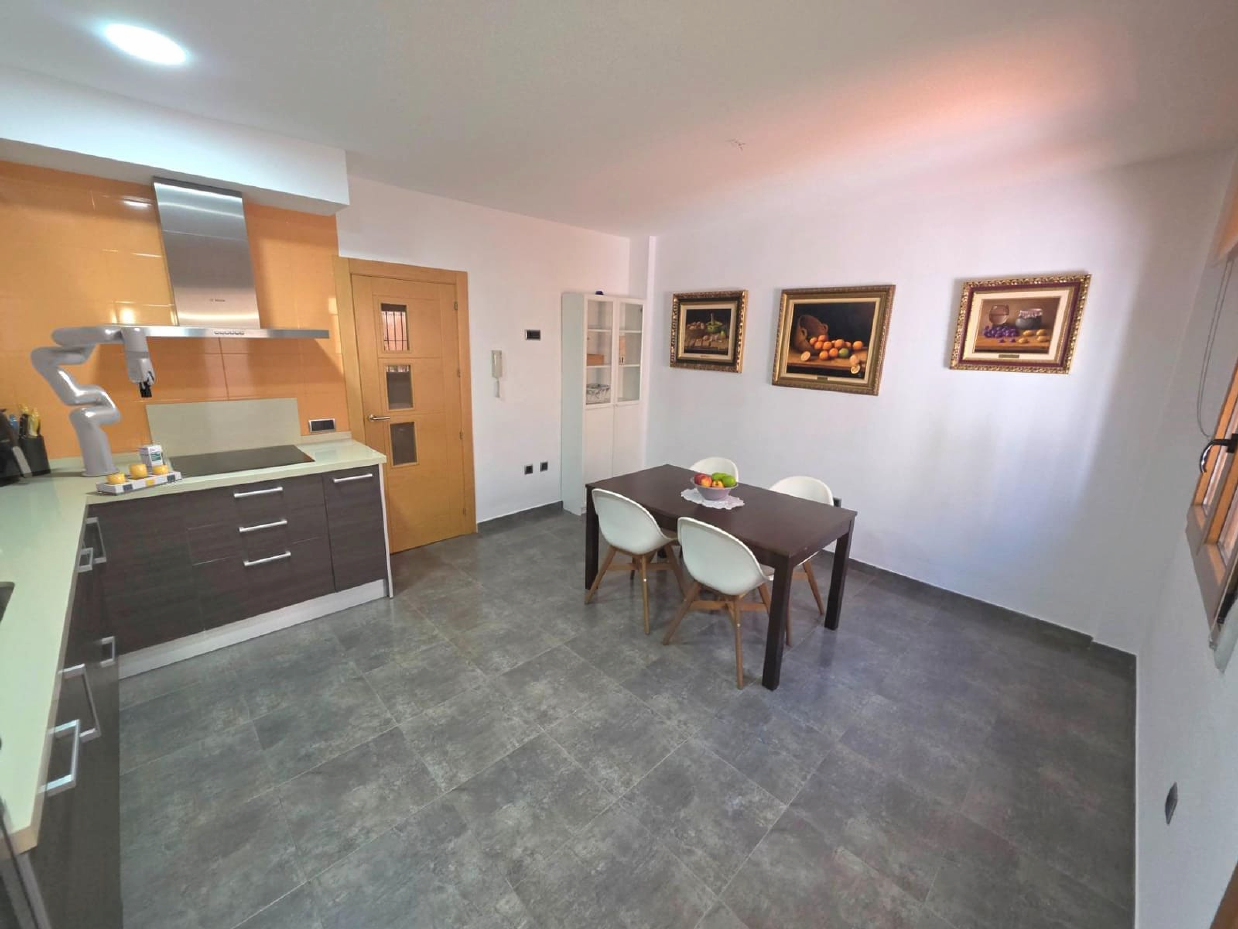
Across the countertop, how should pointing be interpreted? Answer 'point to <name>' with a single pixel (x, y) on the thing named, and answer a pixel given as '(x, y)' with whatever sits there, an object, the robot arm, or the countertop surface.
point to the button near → (116, 479)
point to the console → (138, 483)
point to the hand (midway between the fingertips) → (146, 397)
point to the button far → (160, 470)
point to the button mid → (138, 471)
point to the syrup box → (151, 456)
